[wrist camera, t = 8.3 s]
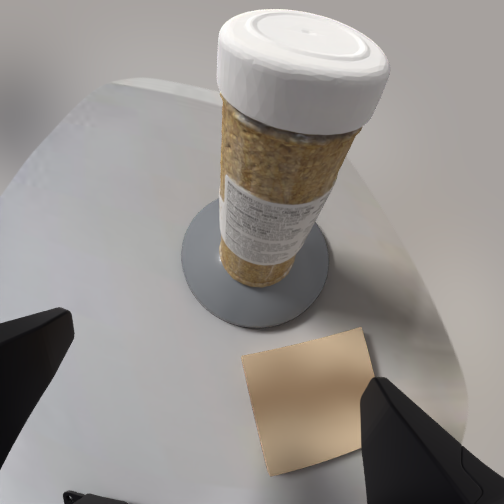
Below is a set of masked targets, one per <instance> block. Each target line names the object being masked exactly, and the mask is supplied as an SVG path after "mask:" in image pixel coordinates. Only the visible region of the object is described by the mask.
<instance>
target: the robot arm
mask: <svg viewBox="0 0 504 504" xmlns="http://www.w3.org/2000/svg"><path fill="white" fill-rule="evenodd" d="M73 339H74V327H73V320H72V314H71V312H70V311H69V310H66V309H64V308H60V307H58V308H54V309H51V310H47V311H43V312H40V313H36V314H33V315H29V316H25V317H22V318H18V319H14V320H11V321H7V322H4V323H0V470H1V467H2V465H3V463H4V462H5V460H6V458H7V456H8V454H9V452H10V450H11V448H12V446H13V444H14V443H15V441H16V439H17V437H18V435H19V433H20V432H21V430H22V428H23V426H24V425H25V423H26V421H27V420H28V418H29V416H30V414H31V413H32V411H33V409H34V408H35V406H36V404H37V403H38V401H39V400H40V398H41V396H42V395H43V393H44V392H45V390H46V388H47V387H48V385H49V384H50V382H51V381H52V379H53V377H54V375H55V374H56V372H57V370H58V368H59V366H60V364H61V362H62V360H63V358H64V356H65V354H66V353H67V351H68V349H69V347H70V345H71V343H72V341H73ZM360 420H361V449H362V457H363V466H364V474H365V484H366V494H367V504H504V478H503V477H501V476H500V475H499V474H497V473H496V472H495V471H493V470H492V469H490V468H489V467H488V466H486V465H485V464H484V463H482V462H481V461H480V460H479V459H478V458H476V457H475V456H474V455H473V454H472V453H470V452H469V451H468V450H467V449H466V448H465V447H464V446H462V445H461V444H460V443H459V442H458V441H457V440H456V439H455V438H453V437H452V436H451V435H450V434H449V433H448V432H447V431H446V430H444V429H443V428H442V427H441V426H440V425H439V424H438V423H436V422H435V421H434V420H433V419H432V418H431V417H430V416H429V415H427V414H426V413H425V412H424V411H423V410H422V409H421V408H420V407H418V406H417V405H416V404H415V403H414V402H413V401H412V400H411V399H409V398H408V397H407V396H406V395H405V394H404V393H403V392H402V391H400V390H399V389H398V388H397V387H396V386H395V385H394V384H393V383H391V382H390V381H389V380H388V379H387V378H385V377H373V378H372V379H371V380H370V382H369V383H368V385H367V387H366V389H365V391H364V392H363V394H362V396H361V399H360ZM69 496H71V497H72V498H73V500H71V499H70V497H69ZM63 499H64V504H128V503H126V502H124V501H119V500H114V499H110V498H105V497H101V496H97V495H93V494H86V495H84V494H81V493H77V492H74V491H66V492H65V493H64V494H63Z"/></svg>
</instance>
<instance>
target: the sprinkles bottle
mask: <svg viewBox="0 0 504 504" xmlns="http://www.w3.org/2000/svg"><path fill="white" fill-rule="evenodd" d="M389 75H390V64H389V61H388V59H387V57H386V55H385V54H384V52H383V51H382V50H381V48H380V47H379V46H378V45H377V44H376V43H375V42H373V41H372V40H371V39H370V38H368V37H367V36H365V35H364V34H362V33H361V32H359V31H357V30H355V29H353V28H352V27H349V26H347V25H345V24H343V23H341V22H338V21H336V20H333V19H330V18H327V17H323V16H320V15H316V14H312V13H307V12H301V11H295V10H284V9H265V10H256V11H250V12H246V13H243V14H240V15H237V16H235V17H233V18H231V19H230V20H228V21H227V22H226V23H225V24H224V25H223V26H222V28H221V30H220V32H219V39H218V54H217V84H218V87H219V90H220V92H221V93H220V96H221V98H222V100H223V107H222V115H223V118H222V146H221V162H220V164H221V176H220V177H221V184H220V189H219V221H220V231H221V242H220V247H219V254H220V259H221V262H222V264H223V266H224V268H225V270H226V271H227V272H228V274H230V276H231V277H232V278H233V279H234V280H236V281H238V282H240V283H242V284H244V285H247V286H251V287H262V288H263V287H266V286H271V285H273V284H275V283H277V282H279V281H280V280H282V279H283V278H284V277H285V276H286V275H287V274H288V273H289V271H290V269H291V268H292V266H293V263H294V260H295V255H296V253H297V252H298V251H299V250H300V249H301V247H302V246H303V244H304V242H305V240H306V238H307V236H308V235H309V233H310V231H311V229H312V227H313V225H314V223H315V221H316V219H317V217H318V215H319V213H320V211H321V209H322V208H323V206H324V204H325V202H326V200H327V198H328V196H329V194H330V192H331V190H332V188H333V186H334V184H335V182H336V179H337V175H338V171H339V169H340V167H341V166H342V164H343V161H344V159H345V157H346V155H347V153H348V151H349V149H350V147H351V144H352V142H353V140H354V138H355V136H356V135H357V134H358V133H359V132H360V131H361V129H362V126H363V125H365V124H366V123H367V122H368V121H369V120H370V119H371V117H372V115H373V113H374V110H375V109H376V106H377V104H378V102H379V100H380V98H381V95H382V93H383V90H384V88H385V85H386V82H387V80H388V77H389Z"/></svg>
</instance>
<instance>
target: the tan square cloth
mask: <svg viewBox="0 0 504 504" xmlns="http://www.w3.org/2000/svg"><path fill="white" fill-rule="evenodd" d="M241 359H242V364H243V368H244V373H245V377H246V382H247V386H248V391H249V395H250V400H251V404H252V408H253V413H254V417H255V421H256V425H257V430H258V434H259V438H260V442H261V446H262V450H263V454H264V459H265V463H266V467H267V471H268V473H269V475H270V477H271V476H275V475H279V474H283V473H287V472H291V471H294V470H298V469H301V468H305V467H308V466H311V465H315V464H318V463H321V462H324V461H327V460H330V459H333V458H336V457H338V456H341V455H344V454H347V453H349V452H352V451H354V450H357V449H359V448H361V420H360V399H361V396H362V394H363V392H364V391H365V389H366V387H367V385H368V383H369V382H370V380H371V379H372V378H373V377H375V376H374V372H373V368H372V364H371V360H370V356H369V353H368V349H367V345H366V341H365V338H364V334H363V331H362V327H359V328H356V329H352V330H349V331H345V332H342V333H338V334H334V335H331V336H327V337H323V338H319V339H315V340H311V341H307V342H303V343H299V344H295V345H291V346H287V347H282V348H278V349H273V350H268V351H264V352H259V353H254V354H249V355H244V356H242V357H241Z"/></svg>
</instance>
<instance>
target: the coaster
mask: <svg viewBox="0 0 504 504" xmlns="http://www.w3.org/2000/svg"><path fill="white" fill-rule="evenodd" d="M220 242H221V231H220V221H219V199H217V200H215V201H213V202H211V203H210V204H208V205H207V206H206V207H204V208H203V209H202V210H201V211H200V212H199V213H198V214H197V215H196V217H195V218H194V219H193V220H192V222H191V224H190V225H189V227H188V229H187V231H186V233H185V236H184V240H183V244H182V251H181V261H182V267H183V272H184V275H185V278H186V281H187V284H188V286H189V288H190V290H191V292H192V293H193V295H194V296H195V298H196V299H197V300H198V301H199V303H200V304H201V305H202V306H203V307H204V308H205V309H207V310H208V311H209V312H210V313H211V314H213V315H215V316H216V317H218V318H219V319H221V320H223V321H226V322H228V323H231V324H234V325H237V326H241V327H247V328H267V327H273V326H277V325H280V324H283V323H286V322H288V321H290V320H292V319H294V318H296V317H297V316H299V315H300V314H301V313H303V312H304V311H305V310H306V309H307V308H308V307H309V306H310V305H311V304H312V303H313V302H314V301H315V299H316V298H317V297H318V295H319V294H320V292H321V290H322V288H323V286H324V284H325V281H326V278H327V273H328V265H329V258H328V250H327V245H326V242H325V239H324V236H323V234H322V232H321V230H320V228H319V227H318V225H317V224H316V222H315V223H314V225H313V227H312V229H311V231H310V233H309V235H308V236H307V238H306V240H305V242H304V244H303V246H302V247H301V249H300V250H299V251H298V252H297V253H296V255H295V260H294V263H293V266H292V268H291V269H290V271H289V273H288V274H287V275H286V276H285V277H284V278H283V279H282V280H280V281H279V282H277V283H275V284H273V285H271V286H266V287H263V288H262V287H251V286H247V285H244V284H242V283H240V282H238V281H236V280H234V279H233V278H232V277H231V276H230V274H228V272H227V271H226V270H225V268H224V266H223V264H222V262H221V259H220V254H219V247H220Z"/></svg>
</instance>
